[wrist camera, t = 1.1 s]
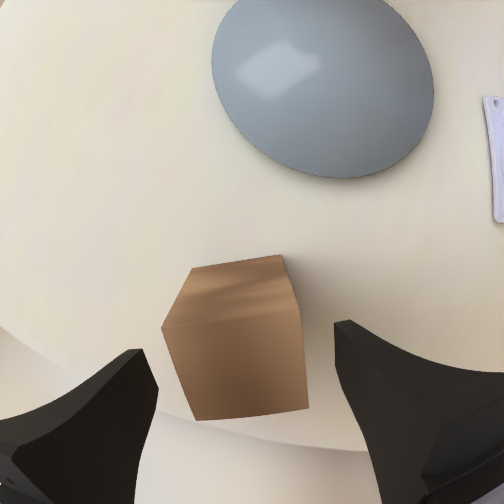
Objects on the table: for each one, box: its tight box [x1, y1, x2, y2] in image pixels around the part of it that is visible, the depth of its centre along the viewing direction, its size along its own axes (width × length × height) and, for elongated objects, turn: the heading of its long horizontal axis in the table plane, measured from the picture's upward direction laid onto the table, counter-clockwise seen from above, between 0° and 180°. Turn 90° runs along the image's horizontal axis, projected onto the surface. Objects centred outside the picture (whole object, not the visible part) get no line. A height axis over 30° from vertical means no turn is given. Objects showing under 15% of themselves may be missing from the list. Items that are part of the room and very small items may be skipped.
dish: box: [211, 0, 434, 178], centre depth 12 cm, size 11×11×1 cm
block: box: [161, 254, 309, 421], centre depth 13 cm, size 4×4×6 cm
